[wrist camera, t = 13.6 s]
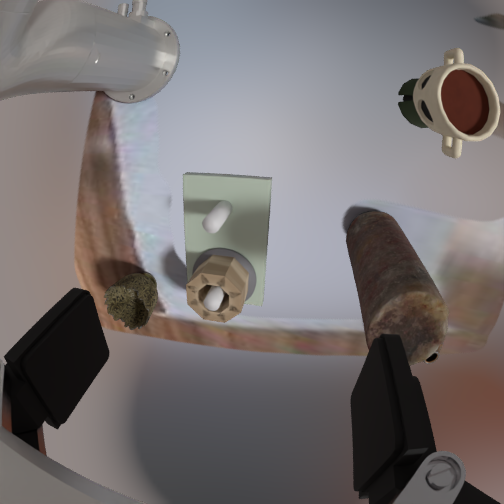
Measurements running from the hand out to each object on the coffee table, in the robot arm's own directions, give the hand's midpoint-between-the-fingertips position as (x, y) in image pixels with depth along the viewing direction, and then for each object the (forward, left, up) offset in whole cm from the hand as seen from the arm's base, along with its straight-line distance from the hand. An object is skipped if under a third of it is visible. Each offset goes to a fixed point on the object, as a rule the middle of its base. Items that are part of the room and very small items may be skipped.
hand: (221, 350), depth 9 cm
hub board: (+10, -7, -30) cm, 33 cm away
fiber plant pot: (+19, -20, -31) cm, 41 cm away
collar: (+15, -7, -28) cm, 33 cm away
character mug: (-11, +16, -31) cm, 36 cm away
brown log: (+7, +12, -31) cm, 34 cm away
